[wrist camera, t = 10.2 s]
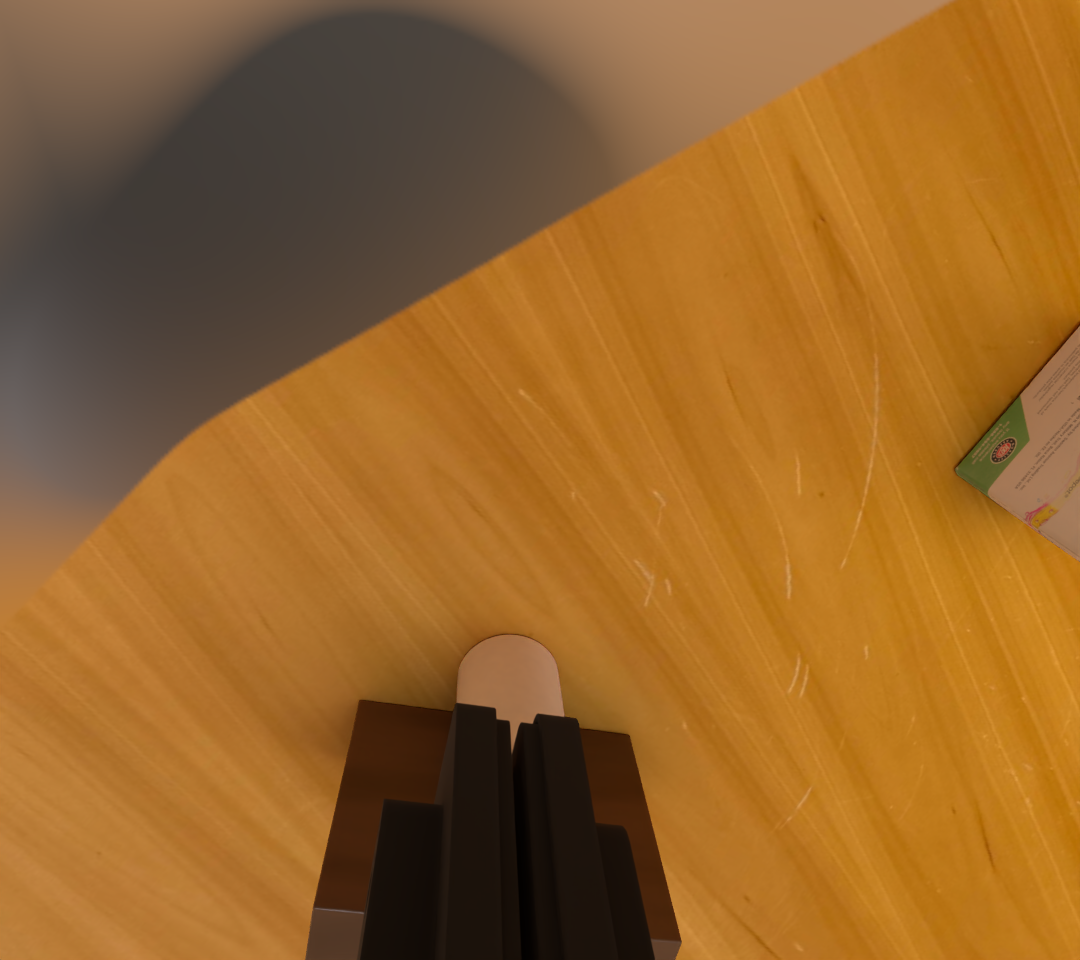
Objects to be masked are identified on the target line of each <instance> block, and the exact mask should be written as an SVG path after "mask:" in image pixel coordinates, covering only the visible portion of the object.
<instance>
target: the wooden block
mask: <svg viewBox="0 0 1080 960" xmlns="http://www.w3.org/2000/svg"><path fill="white" fill-rule="evenodd" d="M452 715H453V712H447V711H440V710H432V709H424V708H417V707H409V706H401V705H393V704H386V703H378V702H370V701H363V700H360V701H359V705H358V709H357V713H356V718H355V722H354V727H353V731H352V736H351V740H350V745H349V749H348V754H347V758H346V763H345V767H344V771H343V776H342V780H341V785H340V789H339V794H338V798H337V803H336V807H335V812H334V816H333V821H332V825H331V829H330V834H329V838H328V843H327V847H326V852H325V856H324V861H323V865H322V870H321V874H320V879H319V883H318V887H317V892H316V896H315V901H314V905H313V911H312V918H311V924H310V931H309V938H308V944H307V951H306V958H305V960H357V956H358V949H359V943H360V936H361V930H362V923H363V917H364V911H365V904H366V898H367V892H368V886H369V880H370V874H371V868H372V862H373V856H374V850H375V844H376V839H377V833H378V828H379V822H380V817H381V811H382V806H383V801H384V799H393V800H402V801H410V802H419V803H428V804H434V801H435V796H436V791H437V786H438V782H439V777H440V772H441V767H442V763H443V758H444V753H445V748H446V743H447V739H448V734H449V729H450V724H451V720H452ZM580 734H581V740H582V746H583V752H584V758H585V764H586V770H587V776H588V781H589V787H590V793H591V799H592V805H593V811H594V817H595V823H604V824H612V825H621V826H623V827H624V828H625V829H626V831H627V834H628V837H629V840H630V844H631V849H632V854H633V858H634V863H635V868H636V872H637V877H638V882H639V886H640V891H641V896H642V900H643V905H644V910H645V914H646V919H647V924H648V928H649V933H650V938H651V942H652V947H653V952H654V956H655V960H675V959H676V956H677V954H678V951H679V948H680V946H681V943H682V941H681V937H680V933H679V929H678V925H677V921H676V917H675V913H674V909H673V906H672V902H671V898H670V894H669V890H668V886H667V882H666V878H665V874H664V870H663V866H662V862H661V858H660V854H659V850H658V846H657V842H656V838H655V834H654V830H653V826H652V822H651V818H650V815H649V811H648V807H647V803H646V799H645V795H644V791H643V787H642V783H641V779H640V775H639V771H638V767H637V763H636V759H635V755H634V751H633V747H632V743H631V739H630V736H629V735H624V734H616V733H608V732H601V731H593V730H585V729H580Z"/></svg>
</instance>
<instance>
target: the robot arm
mask: <svg viewBox="0 0 1080 960" xmlns="http://www.w3.org/2000/svg"><path fill="white" fill-rule="evenodd" d="M357 960H655V956H654V952H653V947H652V942H651V938H650V933H649V928H648V924H647V919H646V914H645V910H644V905H643V900H642V896H641V891H640V886H639V882H638V877H637V872H636V868H635V863H634V858H633V854H632V849H631V844H630V840H629V837H628V834H627V831H626V829H625V828H624V827H623V826H621V825H612V824H604V823H595V817H594V811H593V805H592V799H591V793H590V787H589V781H588V776H587V770H586V764H585V758H584V752H583V746H582V740H581V734H580V728H579V723H578V720H577V719H576V718H570V717H562V716H554V715H547V714H539V713H538V714H536V716H535V718H534V721H533V724H531V723H524V722H521V723H520V725H519V727H518V731H517V735H516V739H515V743H514V747H513V751H512V750H511V730H510V722H509V721H508V720H501V719H497V715H496V709H495V708H494V707H486V706H479V705H471V704H463V703H456V704H455V707H454V710H453V715H452V720H451V724H450V729H449V734H448V739H447V743H446V748H445V753H444V758H443V763H442V767H441V772H440V777H439V782H438V786H437V791H436V796H435V801H434V804H428V803H419V802H410V801H402V800H393V799H384V801H383V806H382V811H381V817H380V822H379V828H378V833H377V839H376V844H375V850H374V856H373V862H372V868H371V874H370V880H369V886H368V892H367V898H366V904H365V911H364V917H363V923H362V930H361V936H360V943H359V949H358V956H357Z"/></svg>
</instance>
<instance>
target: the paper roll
mask: <svg viewBox="0 0 1080 960" xmlns="http://www.w3.org/2000/svg"><path fill="white" fill-rule="evenodd" d="M457 703H463V704H471V705H479V706H486V707H494V708H495V709H496V715H497V719H501V720H508V721H509V722H510V730H511V750H512V751H513V747H514V743H515V739H516V735H517V731H518V727H519V725H520V723H521V722H524V723H531V724H533V721H534V718H535V716H536V714H538V713H539V714H547V715H554V716H562V717H565V716H564V709H563V702H562V695H561V689H560V682H559V675H558V668H557V665H556V662H555V660H554V658H553V656H552V655H551V653H550V652H549V651H548V650H547V649H546V648H545V647H544V646H543V645H541V644H540V643H538V642H537V641H535V640H533V639H530V638H527V637H524V636H520V635H500V636H495V637H491V638H489V639H486V640H484V641H482V642H480V643H479V644H477V645H476V646H474V647H473V648H472V649H471V650H470V651H469V652H468V653H467V654H466V656H465V657H464V659H463V660H462V662H461V665H460V667H459V671H458V682H457Z"/></svg>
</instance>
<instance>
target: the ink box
mask: <svg viewBox="0 0 1080 960" xmlns="http://www.w3.org/2000/svg"><path fill="white" fill-rule="evenodd" d="M955 472H956V473H957V475H958V476H960V477H961V478H962V479H964V480H965V481H967V482H968V483H969V484H971V485H972V486H974V487H975V488H976V489H978V490H979V491H981V492H982V493H983V494H985V495H986V496H988V497H989V498H990V499H992V500H993V501H995V502H996V503H997V504H999V505H1000V506H1002V507H1003V508H1004V509H1006V510H1007V511H1008V512H1010V513H1011V514H1013V515H1014V516H1015V517H1017V518H1018V519H1020V520H1021V521H1022V522H1024V523H1025V524H1027V525H1028V526H1030V527H1031V528H1032V529H1034V530H1035V531H1037V532H1038V533H1039V534H1041V535H1042V536H1044V537H1045V538H1047V539H1048V540H1049V541H1051V542H1052V543H1054V544H1055V545H1057V546H1058V547H1059V548H1061V549H1062V550H1064V551H1065V552H1067V553H1068V554H1069V555H1071V556H1072V557H1074V558H1075V559H1076V560H1078V561H1079V562H1080V326H1079V327H1078V329H1077V330H1076V331H1075V332H1074V333H1073V334H1072V335H1071V336H1070V338H1069V339H1068V340H1067V341H1066V342H1065V344H1064V345H1063V346H1062V347H1061V348H1060V349H1059V351H1058V352H1057V353H1056V354H1055V355H1054V356H1053V357H1052V359H1051V360H1050V361H1049V362H1048V363H1047V364H1046V365H1045V367H1044V368H1043V369H1042V370H1041V371H1040V373H1039V374H1038V375H1037V376H1036V377H1035V378H1034V379H1033V381H1032V382H1031V383H1030V384H1029V386H1028V387H1027V388H1026V389H1025V390H1024V391H1023V392H1022V393H1021V394H1020V395H1019V397H1018V398H1017V399H1016V400H1015V401H1014V403H1013V404H1012V405H1011V406H1010V407H1009V408H1008V410H1007V411H1006V412H1005V413H1004V414H1003V415H1002V416H1001V418H1000V419H999V420H998V421H997V422H996V423H995V425H994V426H993V427H992V428H991V429H990V430H989V431H988V432H987V433H986V435H985V436H984V437H983V438H982V439H981V440H980V441H979V443H978V444H977V445H976V446H975V447H974V448H973V450H972V451H971V452H970V453H969V454H968V455H967V456H966V457H965V458H964V460H963V461H962V462H961V463H960V464H959V465H958V466H957V467H956V468H955Z"/></svg>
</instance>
